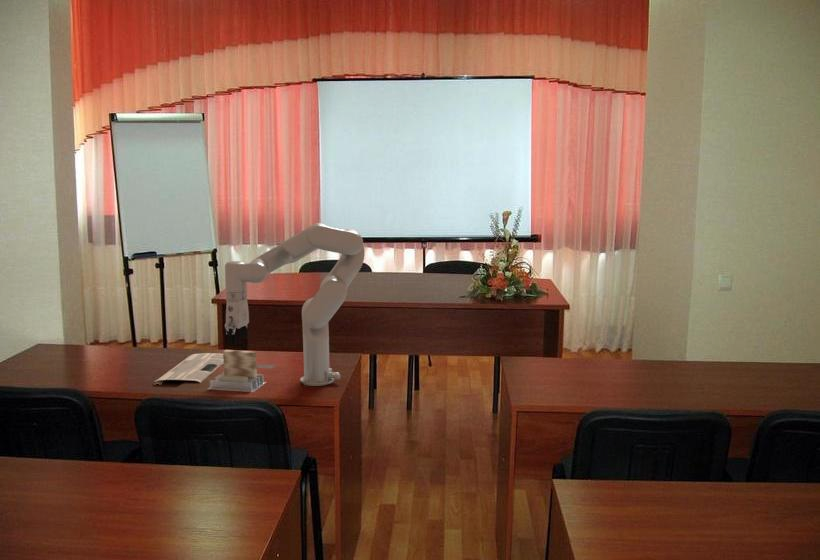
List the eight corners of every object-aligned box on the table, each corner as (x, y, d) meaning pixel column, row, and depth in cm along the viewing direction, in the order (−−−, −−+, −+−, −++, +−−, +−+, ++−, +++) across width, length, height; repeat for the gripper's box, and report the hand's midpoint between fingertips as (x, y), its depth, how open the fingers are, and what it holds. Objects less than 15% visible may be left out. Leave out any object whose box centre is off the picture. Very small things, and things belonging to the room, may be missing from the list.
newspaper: (200, 387, 278) (200, 379, 278) (149, 386, 280) (149, 379, 279) (231, 359, 314) (231, 353, 314) (186, 359, 316) (185, 352, 315)
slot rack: (267, 384, 279) (266, 374, 278) (253, 394, 267) (253, 383, 266) (222, 381, 282) (221, 371, 282) (207, 391, 271) (206, 380, 270)
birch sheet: (257, 383, 277) (255, 351, 275) (255, 384, 275) (253, 352, 273) (227, 381, 280) (225, 349, 278) (224, 382, 278) (223, 351, 276)
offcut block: (248, 387, 272) (248, 376, 271) (244, 389, 269) (244, 379, 268) (222, 385, 274) (222, 375, 273) (219, 388, 271) (218, 377, 271)
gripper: (235, 300, 263) (236, 348, 266) (255, 292, 279) (256, 337, 282) (215, 299, 264) (216, 346, 267) (237, 291, 281) (238, 335, 284)
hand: (237, 341), depth 275 cm, fingers open, 9 cm apart
